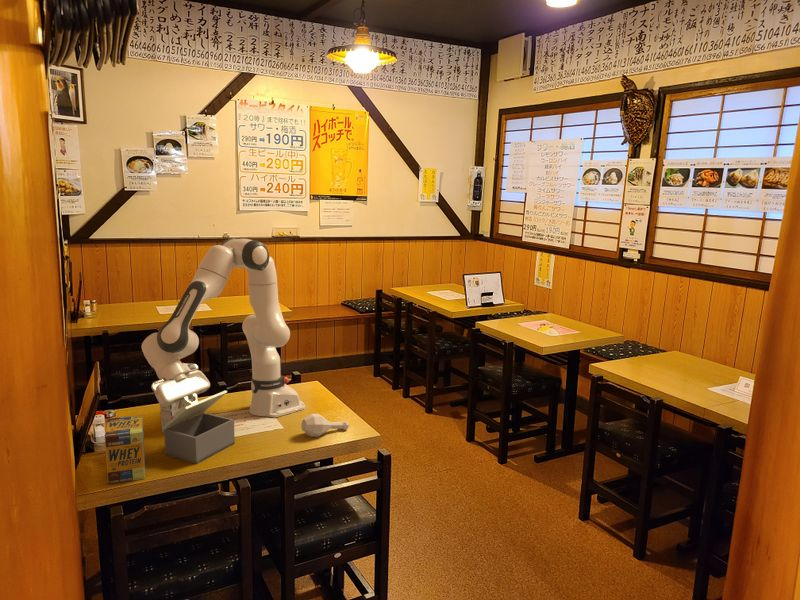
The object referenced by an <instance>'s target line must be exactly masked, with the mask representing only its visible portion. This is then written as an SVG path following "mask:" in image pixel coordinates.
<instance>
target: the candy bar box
mask: <svg viewBox="0 0 800 600" xmlns="http://www.w3.org/2000/svg"><path fill="white" fill-rule="evenodd" d="M185 407H187V405H185V404H183V403H182V401H179V402H176V403H174V404H171V405H169V406H166V407H163V406H161V405H160V404H159V409H160V410H159V412H160V421H161V423H160V424H161V425H160V426H161V433H162V434H164V430H165V429H164V430H163V429H162V427H164V426H165V425H166V424H167V423H168V422H169V421H170V420H171V419H172V418H174V417H175V416H176V415H177V414H178V413H179V412H180V411H181V410H182V409H184V408H185ZM187 420H188V419H187ZM182 422H183V421H182ZM180 423H181V422H180ZM178 424H179V423H178ZM175 425H176V424H175ZM173 426H174V425H173ZM171 427H172V426H171ZM166 429H167V428H166Z"/></svg>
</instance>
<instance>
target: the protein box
mask: <svg viewBox="0 0 800 600" xmlns="http://www.w3.org/2000/svg"><path fill="white" fill-rule="evenodd" d="M143 420H144V418H143V415H141V414H140V415H131V416H122V417H121V416H120V417H114V418H107V420H106V426H105V434H104V441H105V445H104V446H105V459H106V472H107V485H111V484H118V483H124V482H125V483H126V482H130V481H131V482H133V481H139V480H144V479H146V459H145V458H146V457H145V455H146V454H145V439H144V438H145V437H144V421H143Z"/></svg>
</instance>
